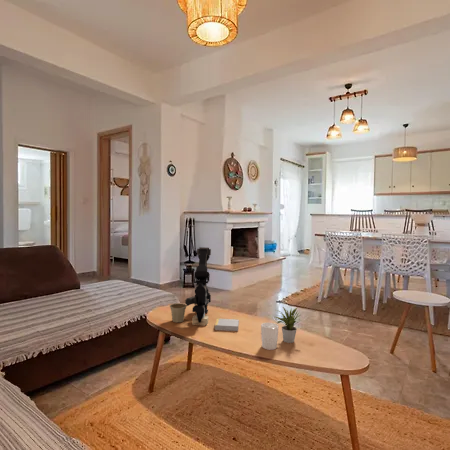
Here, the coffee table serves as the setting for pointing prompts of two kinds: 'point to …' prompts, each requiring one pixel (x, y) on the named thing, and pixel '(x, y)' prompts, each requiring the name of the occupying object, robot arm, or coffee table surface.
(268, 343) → the white cup
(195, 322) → the pallet
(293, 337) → the house plant
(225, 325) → the dock
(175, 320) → the flower pot
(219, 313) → the coffee table surface
